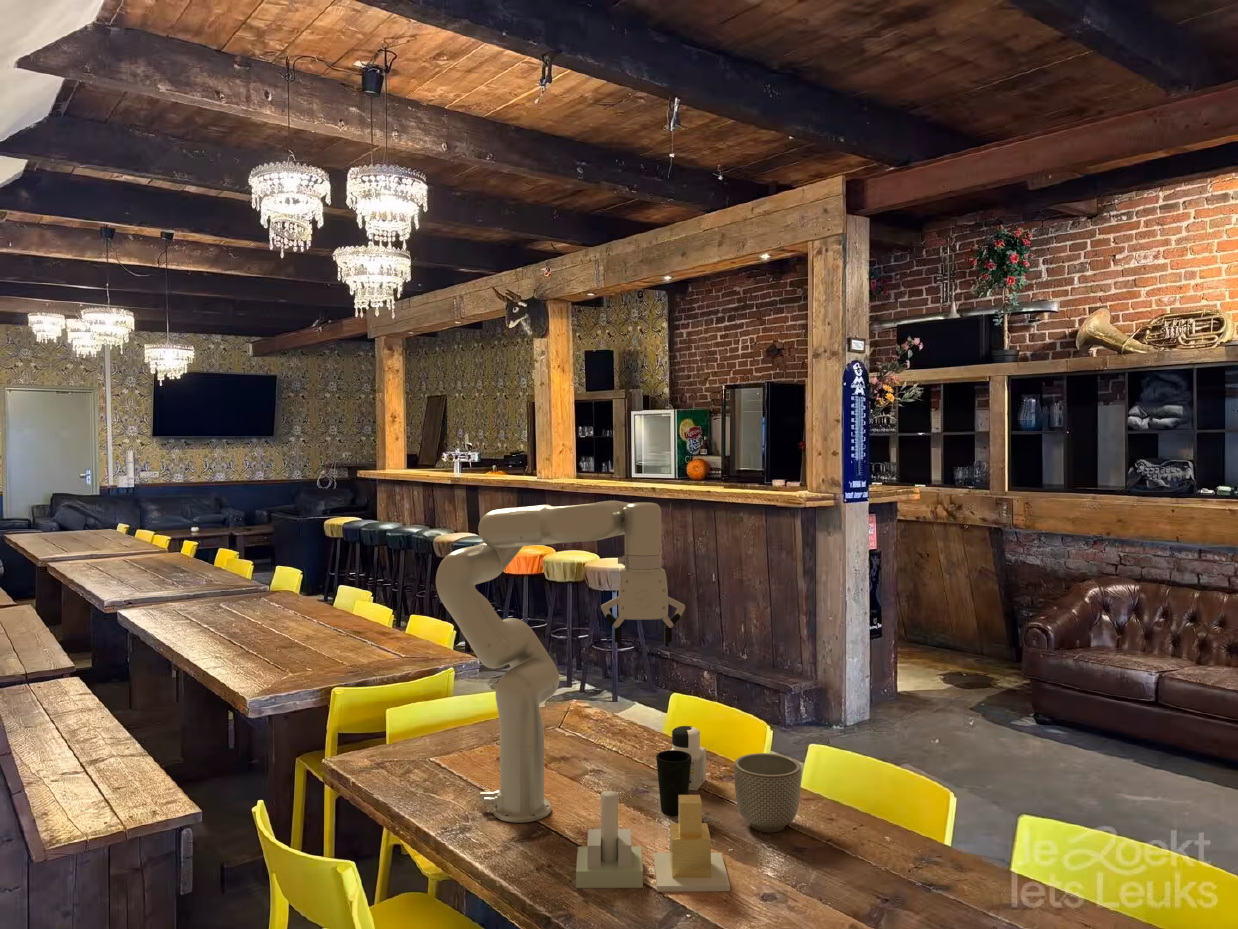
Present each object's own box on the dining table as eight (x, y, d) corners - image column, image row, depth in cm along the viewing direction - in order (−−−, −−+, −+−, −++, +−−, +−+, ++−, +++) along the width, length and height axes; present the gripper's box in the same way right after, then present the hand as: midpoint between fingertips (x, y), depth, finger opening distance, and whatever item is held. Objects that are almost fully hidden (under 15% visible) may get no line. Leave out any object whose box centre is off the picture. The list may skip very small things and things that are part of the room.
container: (665, 786, 209) (665, 731, 209) (675, 775, 216) (675, 722, 216) (696, 791, 206) (696, 735, 206) (706, 780, 213) (706, 725, 213)
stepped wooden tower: (672, 877, 163) (672, 806, 162) (669, 860, 170) (669, 792, 169) (710, 877, 163) (710, 806, 162) (706, 860, 170) (706, 791, 169)
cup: (689, 819, 191) (689, 763, 190) (653, 816, 192) (653, 761, 192) (693, 805, 198) (693, 751, 198) (659, 802, 200) (659, 749, 199)
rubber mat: (657, 891, 160) (657, 886, 160) (653, 858, 173) (653, 853, 173) (730, 891, 160) (730, 885, 160) (721, 857, 173) (721, 852, 173)
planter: (786, 846, 178) (786, 781, 177) (722, 830, 185) (722, 768, 185) (811, 821, 190) (811, 760, 189) (750, 807, 197) (750, 748, 197)
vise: (576, 888, 161) (575, 805, 161) (578, 862, 171) (577, 784, 171) (642, 887, 161) (642, 804, 161) (640, 862, 171) (640, 784, 171)
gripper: (600, 565, 180) (600, 650, 180) (686, 565, 180) (686, 649, 181) (601, 560, 188) (601, 642, 188) (683, 560, 188) (683, 641, 188)
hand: (643, 645), depth 184 cm, fingers open, 9 cm apart
